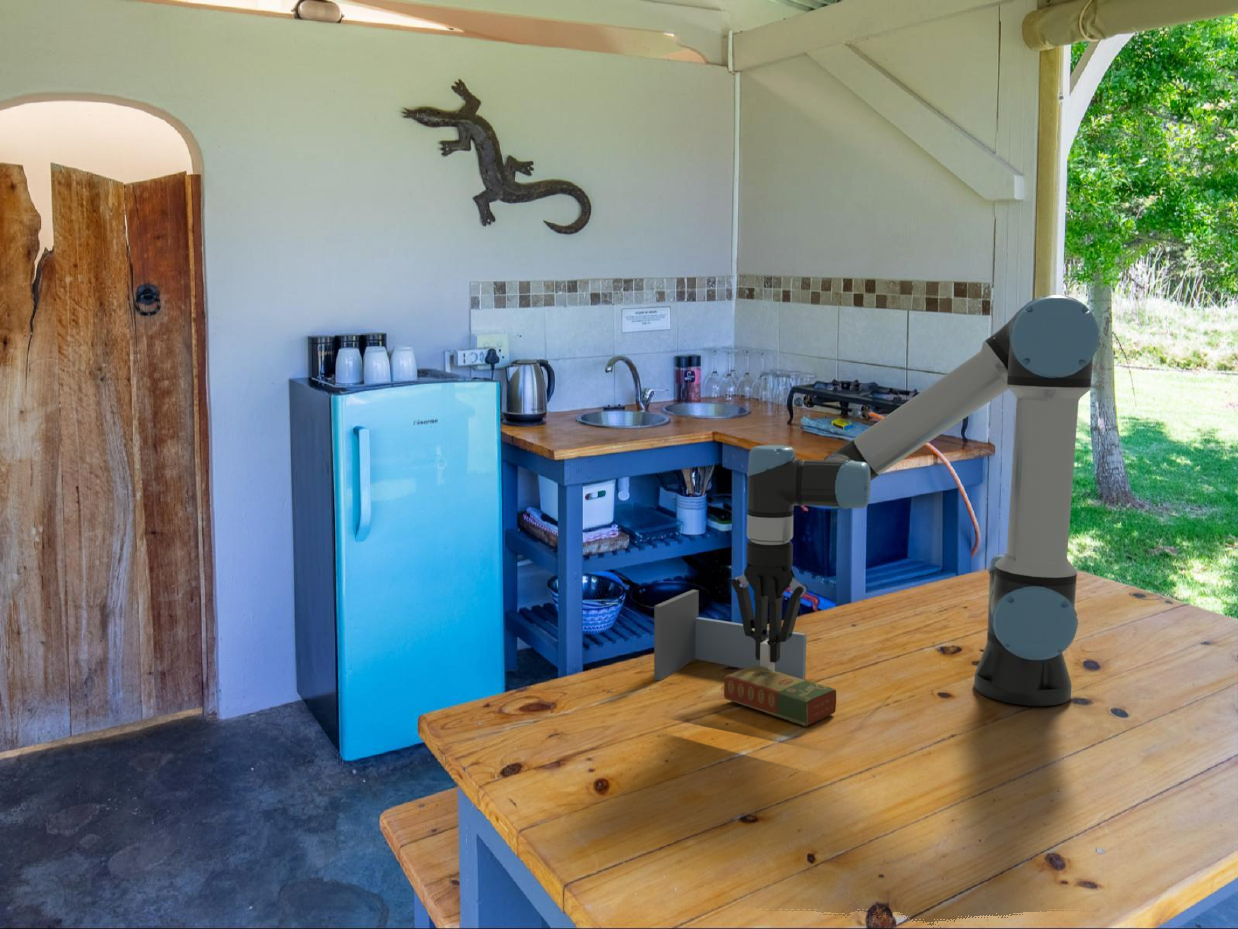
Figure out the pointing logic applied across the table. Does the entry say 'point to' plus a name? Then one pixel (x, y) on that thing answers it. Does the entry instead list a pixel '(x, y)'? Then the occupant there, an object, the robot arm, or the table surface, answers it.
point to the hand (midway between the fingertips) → (767, 679)
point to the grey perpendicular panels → (712, 641)
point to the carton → (780, 695)
